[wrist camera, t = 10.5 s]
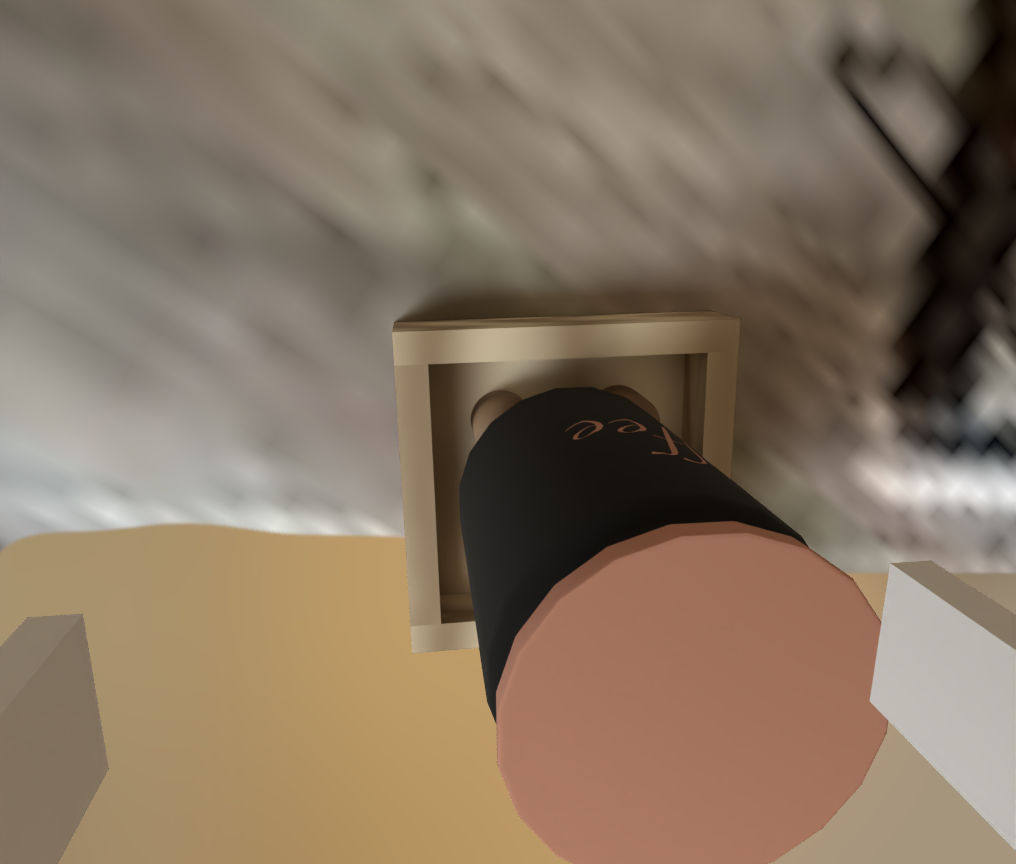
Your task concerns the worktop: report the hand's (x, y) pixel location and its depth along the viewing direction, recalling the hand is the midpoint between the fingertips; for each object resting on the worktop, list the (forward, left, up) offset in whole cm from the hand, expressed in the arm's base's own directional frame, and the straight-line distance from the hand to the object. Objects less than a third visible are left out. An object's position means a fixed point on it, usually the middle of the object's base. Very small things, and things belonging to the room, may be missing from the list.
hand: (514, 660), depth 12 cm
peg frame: (+5, -6, -26) cm, 27 cm away
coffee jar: (+5, -6, -23) cm, 25 cm away
